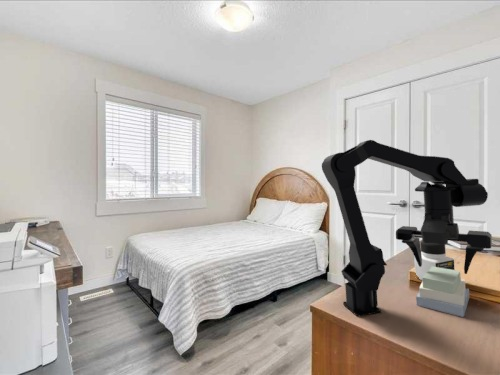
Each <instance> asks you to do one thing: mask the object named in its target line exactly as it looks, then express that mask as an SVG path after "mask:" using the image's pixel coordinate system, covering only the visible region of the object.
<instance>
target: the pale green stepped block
mask: <svg viewBox="0 0 500 375" xmlns="http://www.w3.org/2000/svg"><path fill="white" fill-rule="evenodd" d="M461 279H462V278H461V271H460V270H455V269H454V270H451V269H445V268H439V267H433V266H432V267H431V268H430V269H429V270H428V272H427V273H426V274H425V275H424V276H423V277H422V280H423V288H427V289H432V290H436V291H441V292H445V293H450V294H454V293H455V291H456V289H457V287H458V285H459V283H460V281H461ZM422 280H421V281H422Z"/></svg>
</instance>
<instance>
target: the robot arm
mask: <svg viewBox="0 0 500 375" xmlns="http://www.w3.org/2000/svg"><path fill="white" fill-rule="evenodd" d="M366 160H371V161H375V162H378V163H381V164H385V165H387V166H392V167H395V168H398V169H401V170H405V171H406V172H408V173H410V174H411V175H412V176H413V177H415V178H418V179H419V180H420V181H422V182H420V184H419V185H418V186H417V187H415V188H414V192H423V204H424V221H422V222H423V223H422V225H421V228H420V230H418V227H417V226H406V225H405V226H404V225H402V226H401V227H399V228H397V229H396V231H395V239H396V240H399V241H401V243H402V244H405V245H407V246H408V248H409V249H410V250H411V252H412V255H413V257H414V256H415V258H416V261H417V263H418V265H419V266H420V267H421V266H422V256H421V255H422V254H421V242H422V241H423V242H424V243H438V244H441V245H444V244H445V245H447V244H448V243H449V241H450V242H451V241H453V242H464V243H467V244H466V247H465V255H464V265H463V271H464V275H467V274H468V272H469V268H470V266H471V264H472V260H473V258H474V257H475V255H476V254H477V252H484V250H485V249H489V250H490V249H492V245H493V238H492V234H491V232H489V231H485V230H484V231H483V230H481V231H480V230H468V232H467V233H460V230H459V225H458V223H457V222H456V223H455V221H454V207H456V208H460V207H473V206H481V205H484V204H485V203H486V202H487V200H488V199H489V198H488V196H489V194H488V191H487V189H486V188H485V187H484V185H482V184H481V183H479V181H480V180H479V179H478V178H466V177H465V176H464V174H463V173H462V172H461V171H460V170H459V168H457V167H456V164H455V161H454V160H453V159H452V158H448V157H442V156H434V155H433V156H432V155H431V156H430V155H419V154H416V153H414V152H409V151H405V150H403V149H399V148H396V147H393V146H389V145H387V144H383V143H380V142H377V141H375V140H373V139H369V140H368V139H367V140H366V141H362V142H360V143H358V144H357V145H356V146H353V147H352V148H350V149H348V150H345V151H343V152H337V153H335V154H331V155H329V156H326V157H325V158H324V160H323V161H322V163H321V170H322V172H323V174H324V176H325V179H326V180H327V182H328V183H329V185H330V186H331V188H332V189H333V190H334V192H335V197H336V198H337V199H336V200H337V202H338V203H337V204H338V207H339V211H340V214H341V217H342V220H343V224H344V227H345V230H346V234H347V237H348V240H349V249H348V259H349V262H347V265H345V267H344V268H343V269H342V270H341V275H342V277H343V279H345V280H347V282H345V284H344V287H345V297H346V298H345V301H343V302H342V303H343V305H344V306H345V307H346V308H347V307H348V308H349V309H350V310H349V309H348V308H347V309H348V310H349V311H350V312H352V313H353V314H354V313H355V314H356V315H357V317H361V316H368V315H374V314H378V313H381V312H382V310H381V308H379V307H378V290H379V287H380V283H381V280H382V278H383V276H384V275H385V273H386V269H385V266H387V265H388V264H387V262H385V259H384V254H383V250H382V248H380V247H378V246H376V245H373V244H372V242H371V240H370V238H369V234H368V231H367V228H366V225H365V220H364V217H363V214H362V210H361V207H360V203H359V200H358V196H357V193H356V190H355V181H356V167H357V166H359V165H361V164H362V163H364V162H365V161H366ZM420 239H422V241H420ZM355 314H354V315H355ZM356 315H355V316H356Z"/></svg>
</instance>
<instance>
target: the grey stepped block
mask: <svg viewBox="0 0 500 375" xmlns="http://www.w3.org/2000/svg"><path fill="white" fill-rule="evenodd" d="M469 300H470V289H469V288H466V279H462V278H461V281H460V283H459V285H458V287H457V289H456V291H455V293H454V294H450V293H445V292H441V291H436V290H432V289H427V288H423V281H422V280H421V283H420V285H419V290H418V293H417V294H416V296H415V301H416V302H415V303H416V306H419V307H422V308H427V309H430V310H434V311H438V312H442V313H446V314H450V315H454V316H457V317H461V318H464V317H465V314H466V312H467V308H468V307H467V306H468V304H469Z"/></svg>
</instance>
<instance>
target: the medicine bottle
mask: <svg viewBox="0 0 500 375" xmlns="http://www.w3.org/2000/svg"><path fill="white" fill-rule="evenodd" d="M420 248H421V256H422V266H421V267H420V266H419V265H418V263H417V261H416V258H415V256H414V255H413V258H414V259H413V260H414V271H415V272H414V274H415V273H416V275H417V276H418V277H419V279H420V281H421V282H422V281H423V280H422V277H423V276H424V275H425V274H426V273H427V272H428V270H429V269H430V268H431V267H432V266H433V267H439V268H445V269H451V270H455V260H454V259H455V258H452V257H450V256H447V254H446V251H447V250H446V244H444V245H441V244H438V243H424V242H423V241H420ZM419 279H418V280H419Z"/></svg>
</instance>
